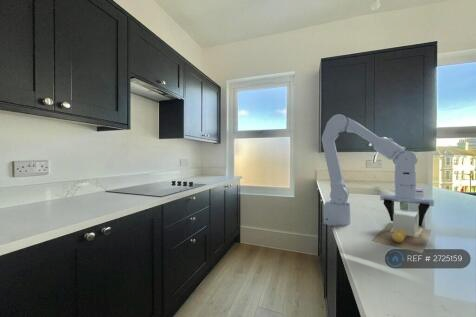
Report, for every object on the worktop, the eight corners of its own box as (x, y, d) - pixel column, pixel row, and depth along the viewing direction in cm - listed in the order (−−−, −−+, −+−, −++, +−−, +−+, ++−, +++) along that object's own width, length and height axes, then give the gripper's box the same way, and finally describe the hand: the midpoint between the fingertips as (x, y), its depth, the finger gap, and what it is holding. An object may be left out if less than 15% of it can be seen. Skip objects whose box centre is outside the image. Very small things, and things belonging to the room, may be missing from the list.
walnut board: (371, 243, 64) (371, 240, 64) (389, 225, 80) (389, 222, 80) (422, 256, 55) (422, 252, 55) (431, 232, 72) (431, 229, 72)
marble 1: (393, 238, 65) (393, 229, 65) (395, 236, 67) (395, 227, 67) (405, 241, 63) (405, 231, 63) (407, 238, 65) (407, 229, 65)
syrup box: (425, 227, 77) (424, 189, 77) (408, 226, 79) (407, 189, 78) (416, 222, 83) (415, 186, 83) (399, 221, 84) (398, 186, 84)
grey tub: (393, 231, 71) (393, 214, 71) (398, 225, 77) (398, 209, 77) (414, 235, 67) (414, 217, 67) (418, 228, 73) (418, 212, 73)
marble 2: (390, 242, 63) (390, 232, 63) (393, 239, 65) (392, 230, 65) (403, 245, 61) (403, 235, 60) (405, 242, 63) (404, 232, 63)
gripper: (377, 184, 75) (378, 221, 75) (432, 187, 64) (433, 231, 64) (382, 182, 79) (383, 217, 79) (434, 185, 69) (435, 225, 69)
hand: (406, 223), depth 72 cm, fingers open, 7 cm apart
